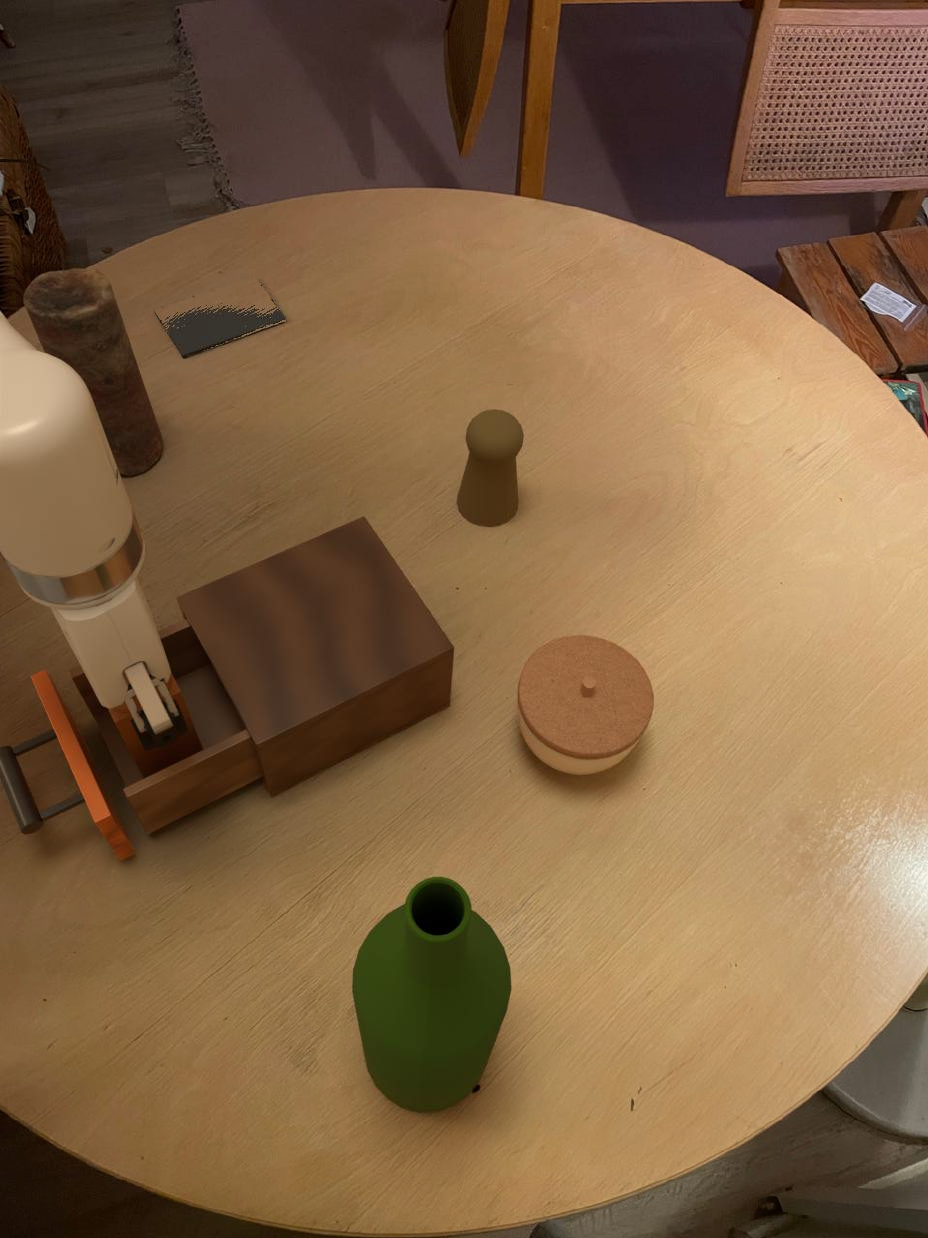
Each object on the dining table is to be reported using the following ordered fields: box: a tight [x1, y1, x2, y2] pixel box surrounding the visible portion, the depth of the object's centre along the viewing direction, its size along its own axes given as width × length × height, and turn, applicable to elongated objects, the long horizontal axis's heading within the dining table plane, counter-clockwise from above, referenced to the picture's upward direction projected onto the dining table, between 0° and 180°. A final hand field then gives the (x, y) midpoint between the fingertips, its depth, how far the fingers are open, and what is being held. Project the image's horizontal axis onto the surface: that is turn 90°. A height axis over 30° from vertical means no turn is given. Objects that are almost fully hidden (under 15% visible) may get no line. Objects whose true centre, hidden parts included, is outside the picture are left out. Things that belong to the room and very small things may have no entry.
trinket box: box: [516, 634, 655, 776], centre depth 84 cm, size 11×11×9 cm
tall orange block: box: [108, 667, 203, 779], centre depth 78 cm, size 5×4×12 cm
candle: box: [22, 268, 163, 477], centre depth 94 cm, size 8×7×20 cm
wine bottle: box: [351, 876, 512, 1113], centre depth 60 cm, size 9×9×32 cm
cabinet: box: [176, 515, 455, 798], centre depth 85 cm, size 17×15×10 cm
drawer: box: [0, 618, 263, 861], centre depth 81 cm, size 21×14×8 cm, turn 121°
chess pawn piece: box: [456, 408, 525, 528], centre depth 96 cm, size 6×6×11 cm
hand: (140, 686), depth 75 cm, fingers open, 9 cm apart
